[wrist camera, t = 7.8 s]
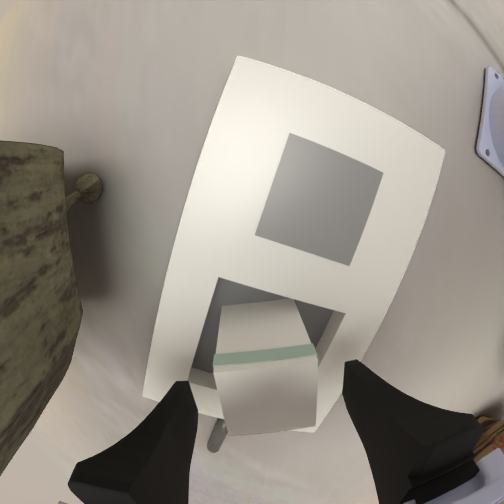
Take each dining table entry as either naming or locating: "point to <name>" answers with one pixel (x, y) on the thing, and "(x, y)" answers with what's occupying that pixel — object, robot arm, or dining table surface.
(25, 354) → the tabletop clock
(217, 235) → the power strip
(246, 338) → the block
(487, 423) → the ceramic jug
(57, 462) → the dining table surface
